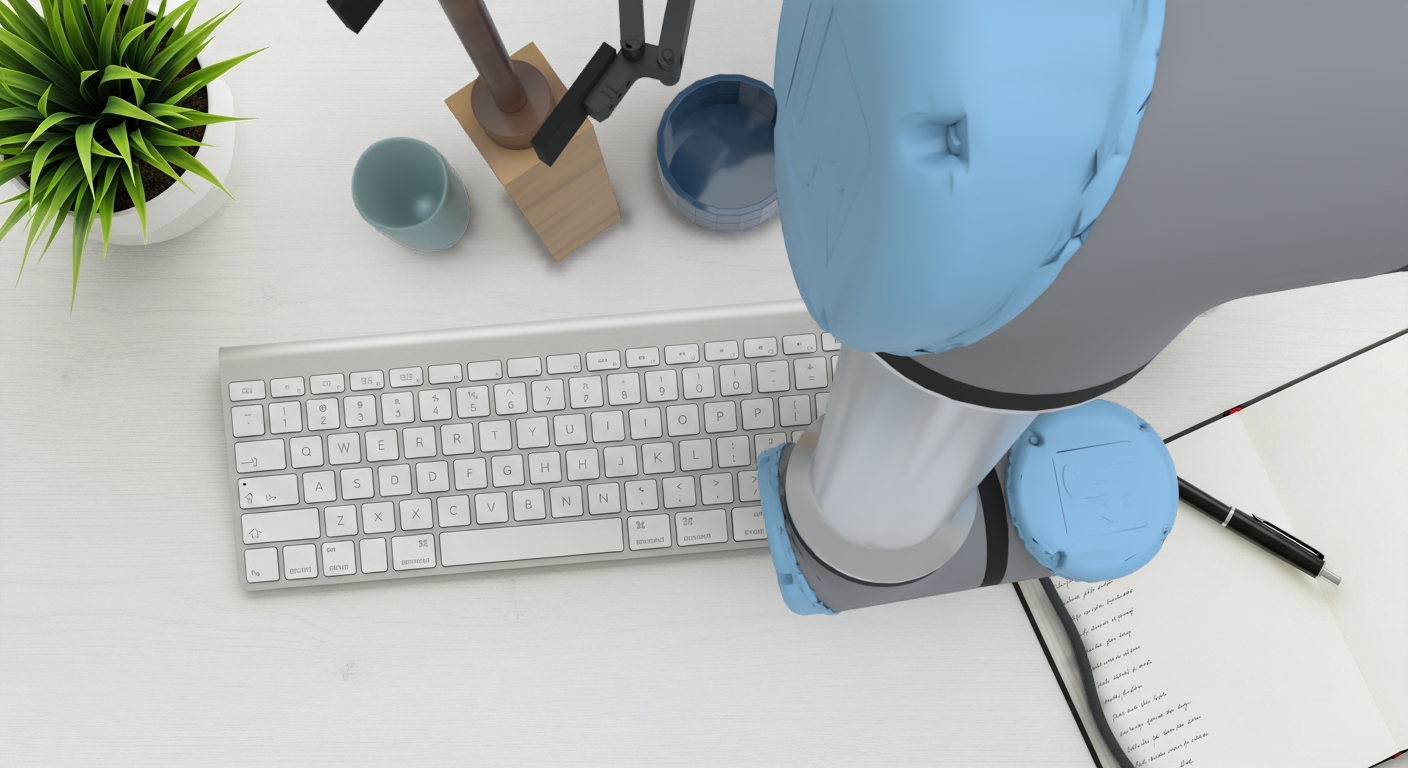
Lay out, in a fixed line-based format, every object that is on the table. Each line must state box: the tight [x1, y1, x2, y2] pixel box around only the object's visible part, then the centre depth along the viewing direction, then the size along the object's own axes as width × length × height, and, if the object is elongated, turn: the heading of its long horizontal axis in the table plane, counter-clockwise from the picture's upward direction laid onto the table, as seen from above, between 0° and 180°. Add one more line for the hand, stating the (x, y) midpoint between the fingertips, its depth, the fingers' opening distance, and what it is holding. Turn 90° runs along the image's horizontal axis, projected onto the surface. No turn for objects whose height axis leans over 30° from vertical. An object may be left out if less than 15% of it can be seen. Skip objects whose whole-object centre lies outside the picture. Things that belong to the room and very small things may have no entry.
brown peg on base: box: [437, 0, 556, 150], centre depth 49 cm, size 5×5×18 cm
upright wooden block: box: [443, 41, 622, 263], centre depth 69 cm, size 7×7×22 cm
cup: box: [350, 136, 471, 253], centre depth 75 cm, size 8×8×10 cm
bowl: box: [656, 73, 779, 233], centre depth 77 cm, size 12×12×6 cm
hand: (440, 86), depth 47 cm, fingers open, 12 cm apart
